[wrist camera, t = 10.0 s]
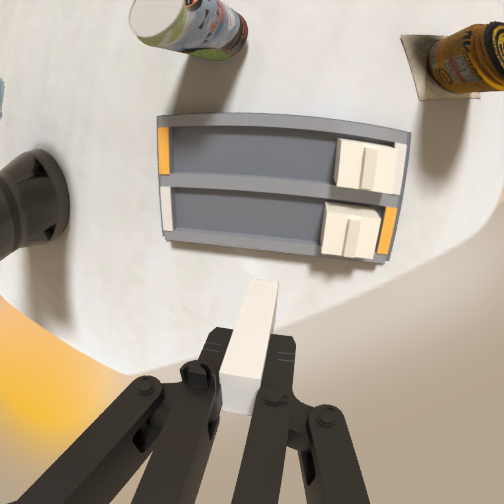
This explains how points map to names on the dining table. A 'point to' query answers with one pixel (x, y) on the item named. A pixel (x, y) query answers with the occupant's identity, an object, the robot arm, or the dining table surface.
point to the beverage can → (189, 27)
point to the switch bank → (266, 180)
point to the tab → (349, 230)
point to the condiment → (458, 62)
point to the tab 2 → (365, 165)
